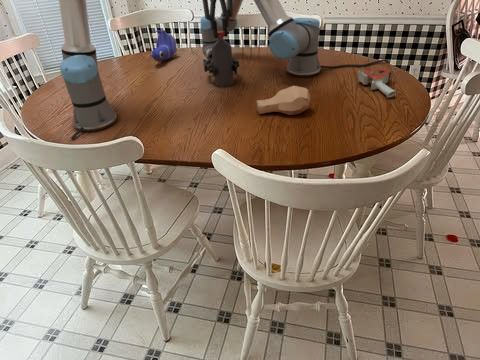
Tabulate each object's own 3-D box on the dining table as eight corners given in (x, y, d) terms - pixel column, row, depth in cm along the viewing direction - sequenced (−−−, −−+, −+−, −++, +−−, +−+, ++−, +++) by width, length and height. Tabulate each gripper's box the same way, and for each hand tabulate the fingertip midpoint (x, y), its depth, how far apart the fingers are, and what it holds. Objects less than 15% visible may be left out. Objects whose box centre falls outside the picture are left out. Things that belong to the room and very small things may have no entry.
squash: (314, 116, 128) (313, 95, 122) (259, 125, 130) (256, 105, 124) (308, 99, 136) (307, 78, 129) (257, 108, 138) (253, 88, 131)
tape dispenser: (391, 103, 136) (403, 82, 149) (394, 90, 133) (407, 70, 145) (346, 93, 144) (362, 74, 156) (348, 81, 140) (364, 62, 153)
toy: (165, 61, 201) (145, 67, 179) (160, 29, 194) (139, 31, 172) (181, 61, 199) (163, 66, 177) (177, 28, 192) (158, 30, 170)
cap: (224, 34, 149) (223, 30, 148) (226, 37, 146) (225, 32, 145) (215, 35, 148) (214, 31, 147) (216, 38, 145) (216, 33, 144)
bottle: (217, 88, 155) (213, 37, 142) (213, 81, 161) (208, 33, 149) (236, 84, 157) (233, 35, 144) (230, 78, 163) (227, 30, 151)
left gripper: (231, -32, 139) (234, 31, 153) (191, -27, 133) (198, 38, 147) (239, -30, 133) (242, 35, 147) (198, -26, 128) (205, 42, 142)
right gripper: (236, 61, 173) (249, 76, 155) (194, 67, 169) (202, 83, 152) (236, 45, 169) (249, 59, 151) (191, 51, 165) (200, 66, 147)
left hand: (220, 36), depth 147 cm, fingers closed on cap, 4 cm apart
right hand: (225, 71), depth 151 cm, fingers closed on bottle, 8 cm apart
